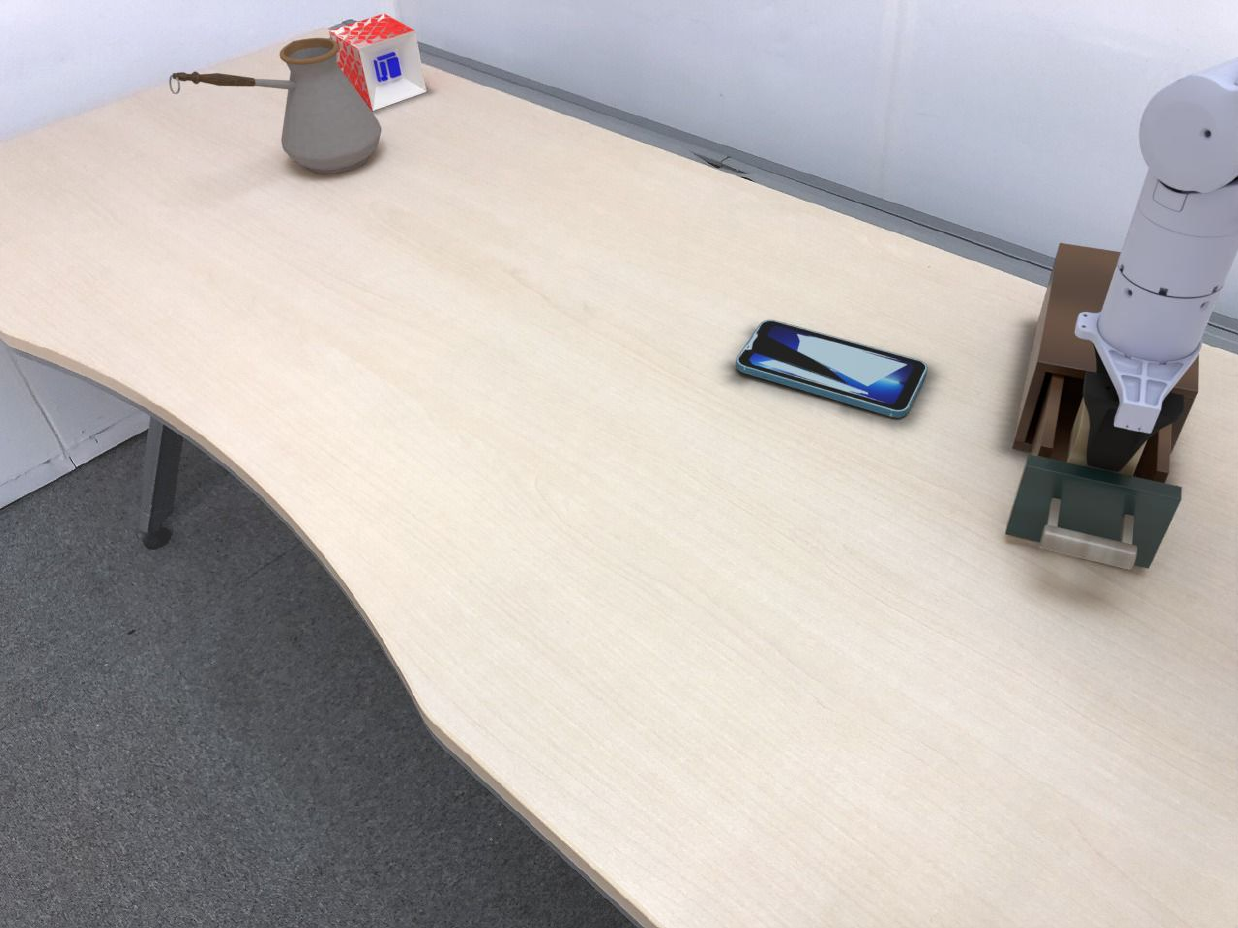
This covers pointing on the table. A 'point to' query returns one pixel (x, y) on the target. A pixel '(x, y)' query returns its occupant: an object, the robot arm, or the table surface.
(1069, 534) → the drawer
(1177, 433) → the cabinet
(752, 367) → the smartphone
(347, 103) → the coffee pot
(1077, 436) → the block
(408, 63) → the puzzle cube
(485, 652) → the table surface
